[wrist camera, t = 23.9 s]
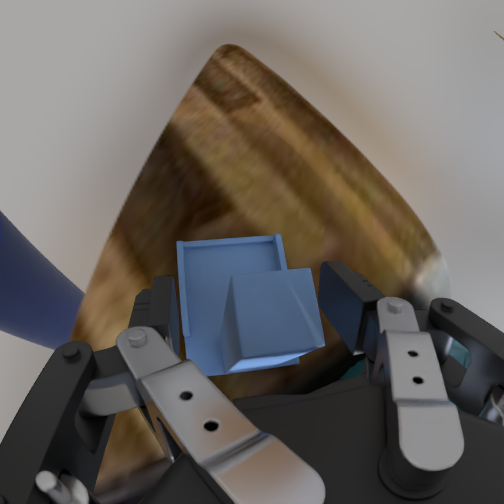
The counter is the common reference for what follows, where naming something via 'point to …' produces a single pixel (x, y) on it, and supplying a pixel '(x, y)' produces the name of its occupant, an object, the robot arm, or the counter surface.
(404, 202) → the counter surface
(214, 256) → the blue base with post
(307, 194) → the counter surface
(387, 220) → the counter surface
